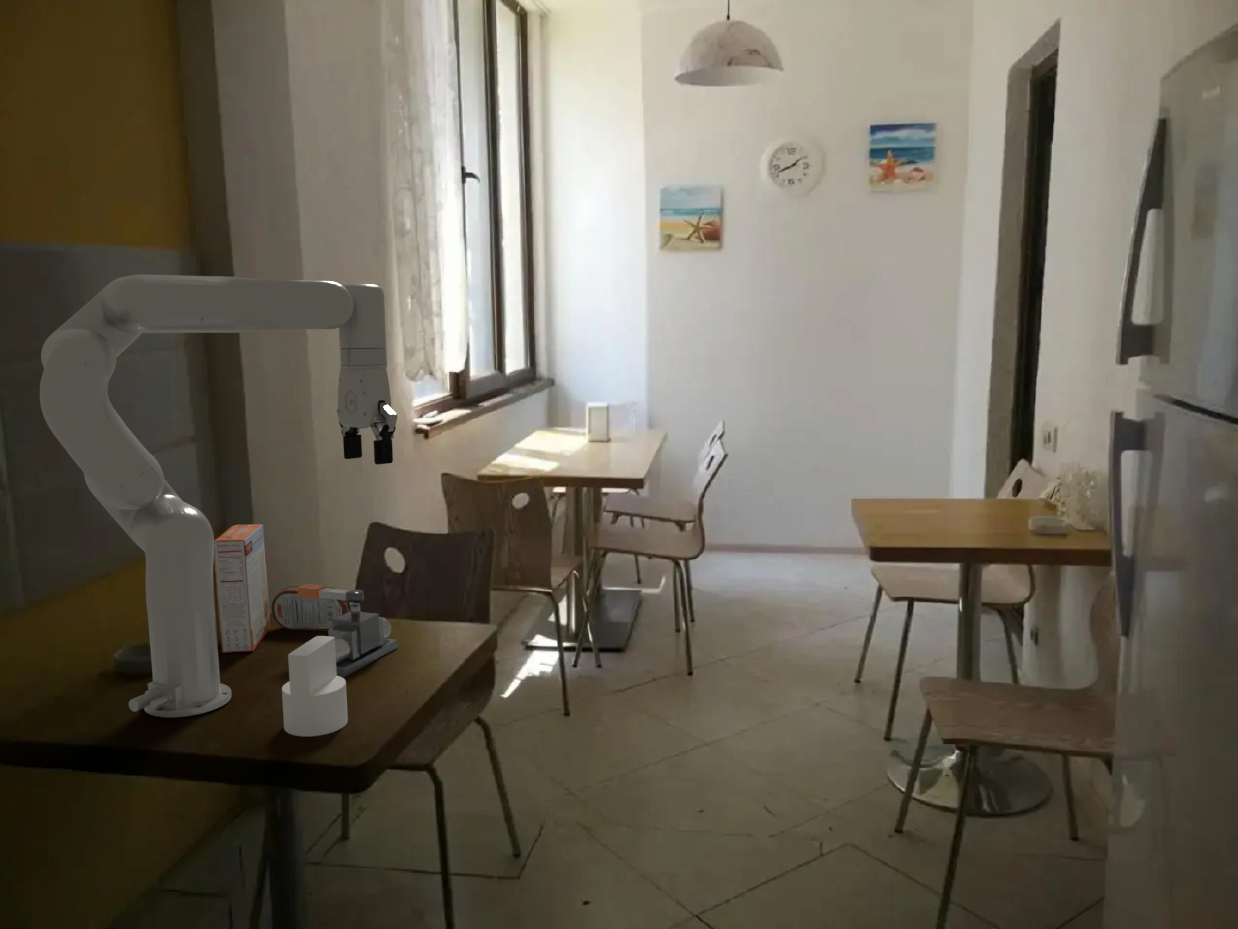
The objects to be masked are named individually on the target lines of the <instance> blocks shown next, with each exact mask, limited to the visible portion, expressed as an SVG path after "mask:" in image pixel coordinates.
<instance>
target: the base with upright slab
mask: <svg viewBox="0 0 1238 929" xmlns="http://www.w3.org/2000/svg"><path fill="white" fill-rule="evenodd" d="M287 660H288V661H287V662H288V677H289V681H287V682H286V683H285V684H283V685H282V687H281V697H282V698H281V700H282V712H283V713H282V715H283V730H284V731H285V732H286V733H288V734H289V735H291V736H297V737H319V736H323V735H328V734H331V733H334V732H337V731H340V730H341V729H343V728H344V727H345V726H346V725H348V720H349V718H348V701H347V700H348V698H347V680H346V679H345V678H344V677H341V676H337V672H336V652H335V637H330V636H329V635H328V636H327V635H326V636H325V635H316V636H315V637H313V638H311V639H310V640H308V641H306V642H305V643H303V644H302V645H300V646H299V647H297V648H296V649H294V650H293V651H291V652H290V653H288V654H287Z"/></svg>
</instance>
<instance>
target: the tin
mask: <svg viewBox="0 0 1238 929" xmlns="http://www.w3.org/2000/svg"><path fill="white" fill-rule="evenodd" d="M300 586H301V585H290V586H286V587H285V588H283V589H281V590H280V591H279V593H278V594H277V595H275V596H274V598H273V599H272V601H271V602H272V603H271V613H272V617H273V619H274V620H275V622H276V623H277V624H278V625H279V626H280V627H282V628H283V629H285V630H289V631H305V632H306V631H311V632H313V631H314V632H328V630H329V629H331V628H333V619H335V618H337V617H339V616H342V615H344V614H346V613H348V612H351V602H347V601H346V600H338V599H329V598H319V599H308V598H299V597H298V587H300ZM326 588H331V589H337V588H335V587H332V586H326Z"/></svg>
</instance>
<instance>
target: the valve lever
mask: <svg viewBox="0 0 1238 929" xmlns="http://www.w3.org/2000/svg"><path fill="white" fill-rule="evenodd" d="M299 586H300V587H298V597H299V598H308V599H319V598H329V599H338V600H346V601H347V602H350V603H360V602H363V601H364V600H365V596H364V594H365V593H364V590H361V589H351V590H350V589H349V590H348V589H339V588H336V589H331V588H326V587H327V586H326V585H322V584H313V583H311V584H310V583H305V584H303V585H299Z"/></svg>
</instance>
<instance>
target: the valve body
mask: <svg viewBox="0 0 1238 929" xmlns="http://www.w3.org/2000/svg"><path fill="white" fill-rule="evenodd" d="M350 606H351V612H348V613H346V614H344V615H342V616H339V617H337V618H335V619H333V628H331V629H329V630H328V631H327V632H328V633H327V634H328V636H330V637H335V652H336V672H337V676H340V677H342V678H344V677H347V676H350V675H351V674H352V673H354V672H357V671H358V670H359V669H362V668H364V667H365V665H366V666H367V665H369V664H371V663H372V662H373V663H374V660H375V661H377V660H378V659H380V658H382V657H384V656H385V654H386V655H388V654H389V653H392V652H393V651H395V650H396V649H398V647H399V640H398V639H396V638H395V639H394V638H393V639H392V638H387V637H389V636H390V635H391V634H392V633H391V632H392V624H391V622H390V621H389V620H388V619H386V618H385V617H382V616H380V614H379V613H376V612H375V613H374V612H365V611H361V603H360V602H352V603H350ZM381 656H382V657H381ZM379 657H380V658H379ZM377 658H378V659H377ZM370 662H371V663H370ZM357 669H358V670H357Z"/></svg>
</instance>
